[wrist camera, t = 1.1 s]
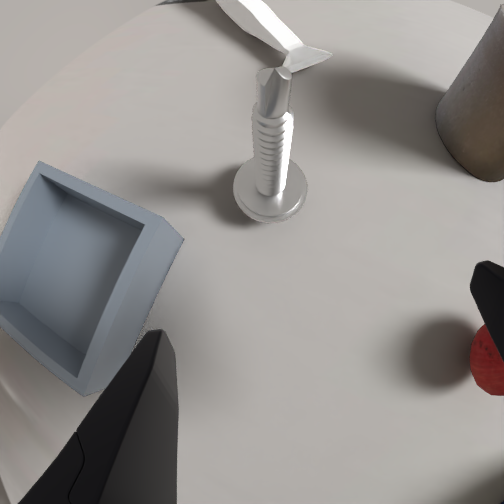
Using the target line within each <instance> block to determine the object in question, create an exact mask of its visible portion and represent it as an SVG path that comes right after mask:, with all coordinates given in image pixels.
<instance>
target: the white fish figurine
mask: <svg viewBox="0 0 504 504" xmlns="http://www.w3.org/2000/svg"><path fill="white" fill-rule="evenodd" d="M216 2H217V3H218V4H219V6H220V7H221V8H222V10H223V11H224V12H225V13H226V14H227V15H228V16H229V17H230V18H231V19H232V20H233V21H234V22H235V23H236V24H237V25H238V26H240V27H241V28H242V29H243V30H244V31H246V32H247V33H249V34H250V35H253V36H255V37H257V38H259V39H260V40H262V41H264V42H265V43H267V44H268V45H270V46H271V47H273V48H275V49H276V50H278V51H280V52H282V53H284V54H286V55H287V56H286V59H285V61H284V63H283V65H282V66H284V67H286V68H287V69H288V70H289V71H290V72H291V73H293V72H297V71H299V70H302V69H304V68H307V67H309V66H312V65H314V64H317V63H320V62H322V61H325V60H327V59H328V58H330V57H331V56H332V55H333V54H332V53H331V52H328V51H324V50H320V49H317V48H313V47H309V46H305V45H304V44H303V43H302V42H301V41H300V39H299V38H298V37H297V36H296V35H295V34H294V33H293V32H292V31H291V30H290V29H289V28H288V27H287V26H286V25H285V24H284V23H283V22H282V21H281V20H280V19H279V18H278V17H277V16H276V15H275V14H274V13H273V11H272V10H271V9H270V8H269V7H268V6H267V5H266V4H265V3H264V2H263V1H261V0H216Z"/></svg>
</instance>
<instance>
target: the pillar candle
mask: <svg viewBox="0 0 504 504" xmlns="http://www.w3.org/2000/svg"><path fill="white" fill-rule="evenodd" d="M435 119H436V125H437V129H438V132H439V135H440V137H441V139H442V141H443V143H444V145H445V146H446V148H447V149H448V151H449V152H450V153H451V155H452V156H453V157H454V158H455V159H456V160H457V161H458V162H459V163H460V164H461V165H462V166H463V167H464V168H465V169H466V170H468V171H469V172H470V173H471V174H472V175H474V176H475V177H477V178H479V179H482V180H484V181H489V182H492V181H493V182H497V181H501V180H502V179H504V4H503V5H501V6H500V8H499V10H498V12H497V14H496V15H495V17H494V19H493V21H492V23H491V24H490V26H489V27H488V29H487V31H486V32H485V34H484V36H483V37H482V39H481V40H480V42H479V43H478V45H477V47H476V48H475V50H474V51H473V53H472V55H471V56H470V57H469V59H468V61H467V62H466V64H465V65H464V66H463V68H462V69H461V71H460V72H459V74H458V76H457V77H456V79H455V80H454V82H453V83H452V85H451V86H450V88H449V89H448V90H447V92H446V93H445V95H444V97H443V98H442V99H441V101H440V103H439V104H438V107H437V109H436V117H435Z"/></svg>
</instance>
